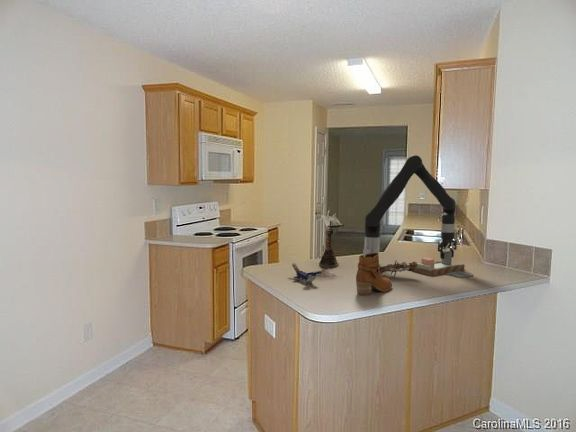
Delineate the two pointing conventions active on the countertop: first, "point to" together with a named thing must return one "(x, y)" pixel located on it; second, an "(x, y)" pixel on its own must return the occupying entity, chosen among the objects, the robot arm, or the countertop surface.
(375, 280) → the boot
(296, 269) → the toy
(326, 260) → the bird statue
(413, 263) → the figurine
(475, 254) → the countertop surface
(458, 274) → the pad
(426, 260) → the cube
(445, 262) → the light green piece
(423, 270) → the lane board
